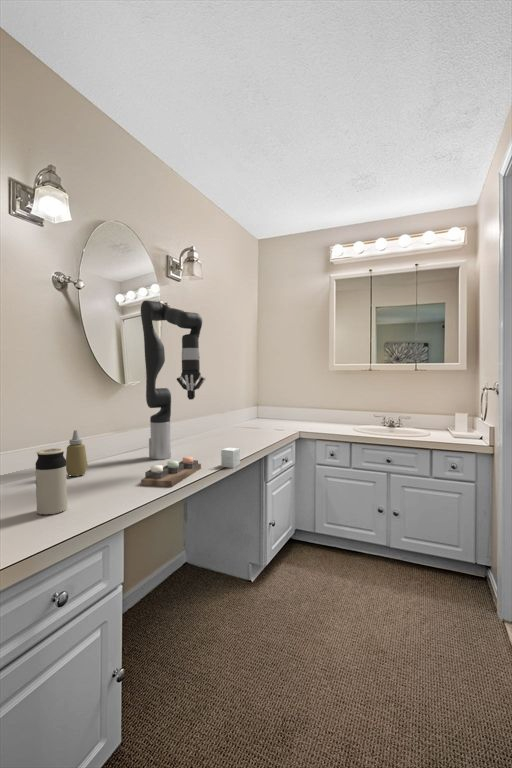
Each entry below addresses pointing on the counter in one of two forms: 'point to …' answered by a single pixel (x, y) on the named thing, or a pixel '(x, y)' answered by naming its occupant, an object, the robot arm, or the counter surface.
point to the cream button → (157, 468)
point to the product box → (230, 457)
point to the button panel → (170, 474)
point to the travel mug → (51, 481)
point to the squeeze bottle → (76, 456)
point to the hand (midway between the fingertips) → (191, 399)
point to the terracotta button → (188, 460)
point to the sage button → (173, 464)
